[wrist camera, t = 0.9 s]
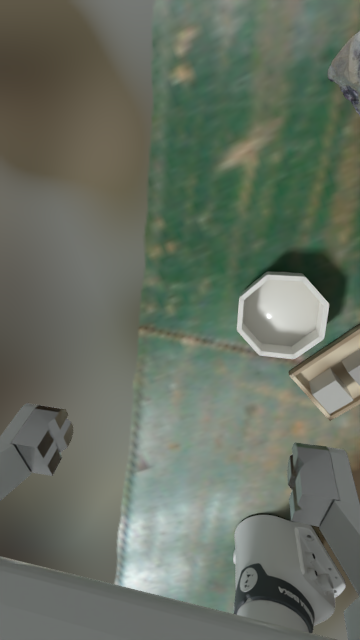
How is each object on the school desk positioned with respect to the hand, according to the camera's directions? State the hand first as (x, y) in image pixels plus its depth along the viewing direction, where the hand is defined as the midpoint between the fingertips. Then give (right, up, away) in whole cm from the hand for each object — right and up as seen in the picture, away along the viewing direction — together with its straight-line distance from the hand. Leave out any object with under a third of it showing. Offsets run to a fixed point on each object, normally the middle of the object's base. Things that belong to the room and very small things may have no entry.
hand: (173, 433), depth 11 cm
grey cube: (+24, -6, +39) cm, 46 cm away
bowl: (+16, +5, +39) cm, 42 cm away
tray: (+26, -4, +39) cm, 47 cm away
